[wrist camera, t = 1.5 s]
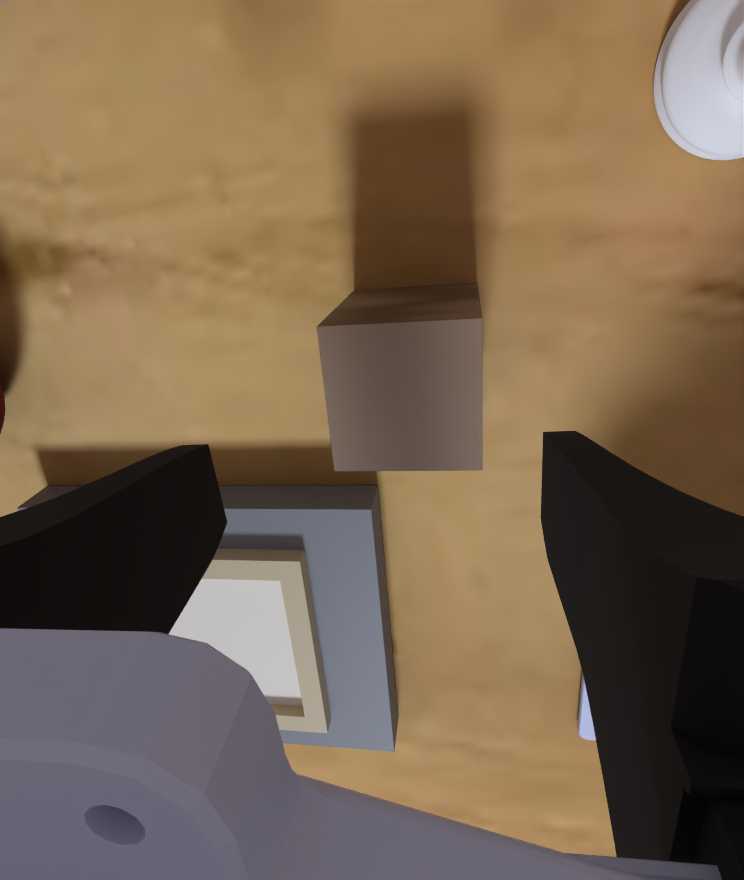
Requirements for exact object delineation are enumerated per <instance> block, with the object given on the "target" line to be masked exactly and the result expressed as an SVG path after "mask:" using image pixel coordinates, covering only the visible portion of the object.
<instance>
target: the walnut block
mask: <svg viewBox="0 0 744 880" xmlns="http://www.w3.org/2000/svg"><path fill="white" fill-rule="evenodd" d="M317 333H318V341H319V349H320V358H321V366H322V374H323V382H324V390H325V399H326V407H327V415H328V423H329V431H330V439H331V448H332V456H333V464H334V471H456V470H483V438H482V314H481V307H480V300H479V293H478V286H477V283H465V284H449V285H432V286H416V287H399V288H383V289H366V290H354V291H353V292H352V293H351V294H350V295H349V296H348V297H347V298H346V299H345V300H344V301H343V302H342V303H341V304H340V305H339V306H338V307H336V308H335V309H334V310H333V311H332V312H331V313H330V314H329V315H328V316H327V317H326V318H325V319H324V320H323V321H322V322H321V323H320V324H319V325H318V326H317Z"/></svg>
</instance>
